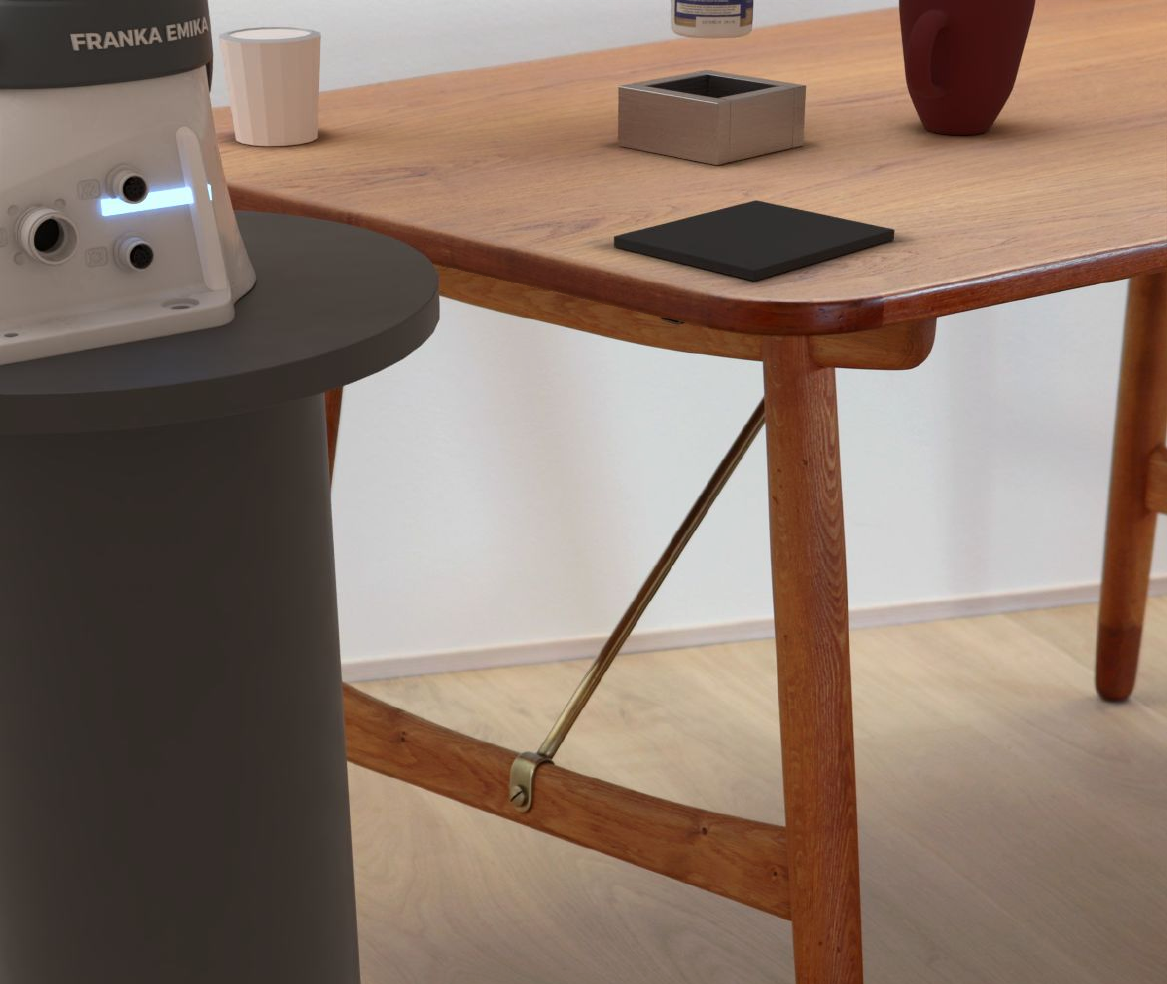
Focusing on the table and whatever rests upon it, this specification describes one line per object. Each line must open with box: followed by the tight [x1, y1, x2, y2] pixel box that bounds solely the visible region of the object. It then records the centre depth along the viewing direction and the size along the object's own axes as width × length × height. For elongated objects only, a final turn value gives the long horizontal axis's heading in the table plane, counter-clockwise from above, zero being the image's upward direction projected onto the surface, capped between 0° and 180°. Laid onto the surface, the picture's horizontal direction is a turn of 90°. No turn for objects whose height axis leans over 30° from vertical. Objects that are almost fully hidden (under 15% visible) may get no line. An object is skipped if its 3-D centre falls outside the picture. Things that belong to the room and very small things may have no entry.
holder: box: [617, 69, 807, 166], centre depth 126 cm, size 9×9×4 cm
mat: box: [613, 199, 896, 282], centre depth 103 cm, size 12×10×1 cm
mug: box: [898, 0, 1036, 136], centre depth 128 cm, size 12×9×11 cm
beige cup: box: [218, 26, 322, 147], centre depth 128 cm, size 7×7×7 cm
